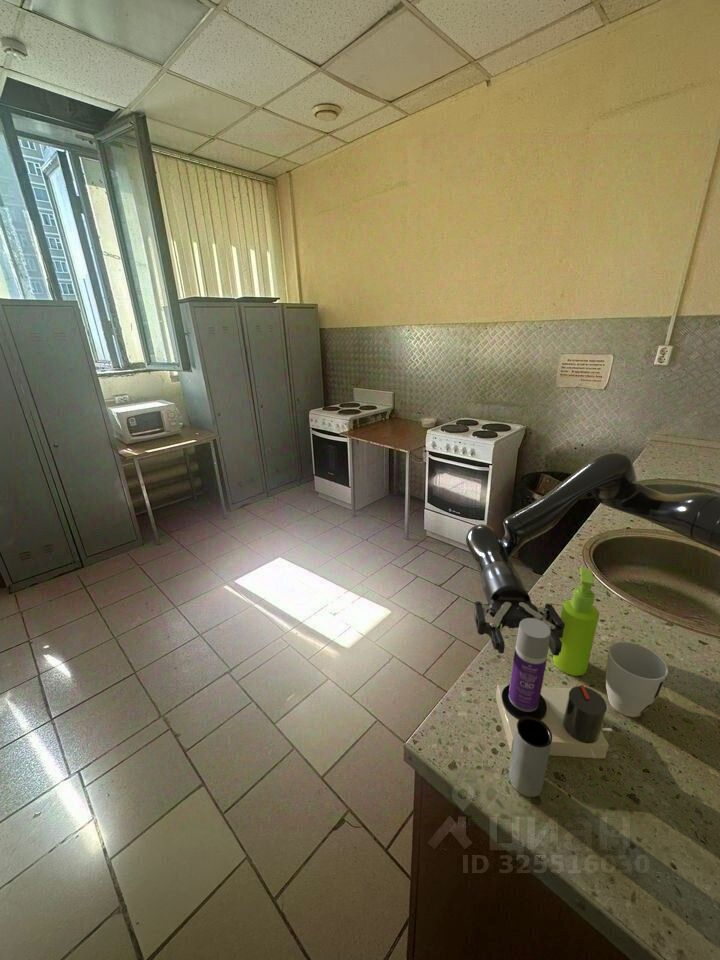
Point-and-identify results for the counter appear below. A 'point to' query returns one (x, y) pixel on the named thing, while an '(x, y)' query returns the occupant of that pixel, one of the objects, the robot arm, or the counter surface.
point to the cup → (633, 677)
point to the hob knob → (584, 714)
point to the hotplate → (517, 713)
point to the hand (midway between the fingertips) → (529, 650)
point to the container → (529, 664)
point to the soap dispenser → (578, 627)
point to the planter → (530, 756)
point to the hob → (555, 726)
